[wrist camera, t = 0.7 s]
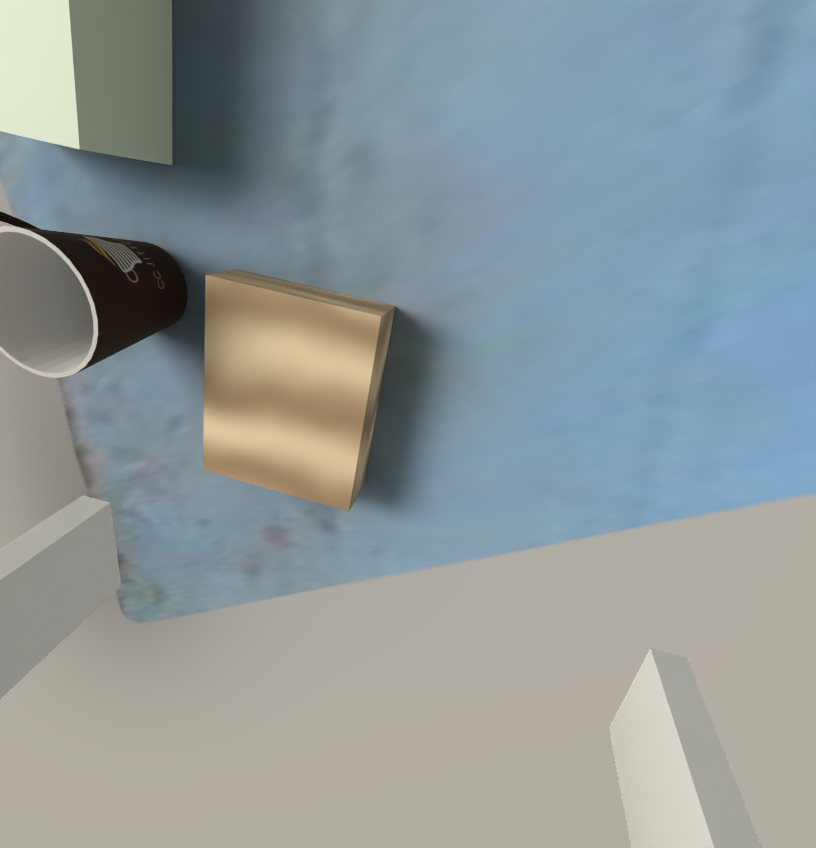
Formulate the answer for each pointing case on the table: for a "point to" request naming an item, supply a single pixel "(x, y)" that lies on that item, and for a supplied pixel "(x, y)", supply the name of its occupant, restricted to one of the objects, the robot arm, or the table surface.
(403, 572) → the table surface
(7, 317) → the coffee mug
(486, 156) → the table surface
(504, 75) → the table surface
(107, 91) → the sage brick
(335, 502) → the oak block
